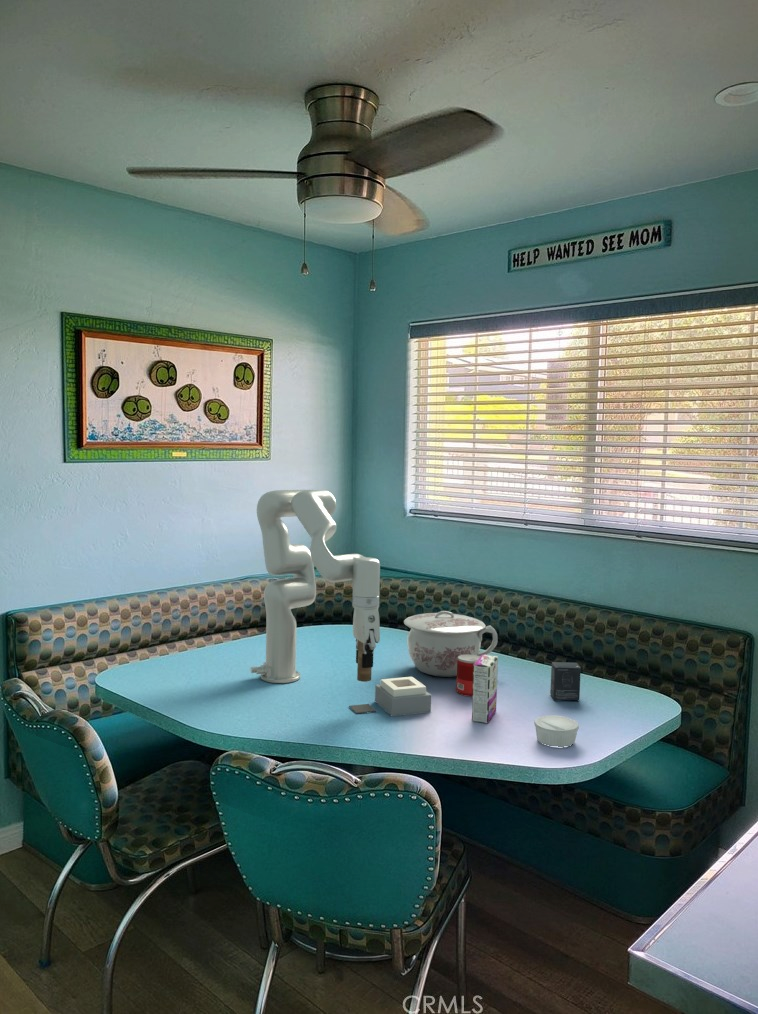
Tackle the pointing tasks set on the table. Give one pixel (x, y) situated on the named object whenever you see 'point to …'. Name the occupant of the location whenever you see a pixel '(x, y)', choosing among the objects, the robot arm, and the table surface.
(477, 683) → the candy bar box
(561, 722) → the ramekin
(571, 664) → the box
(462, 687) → the canned food
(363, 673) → the brown rounded cylinder
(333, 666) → the table surface
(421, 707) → the grey white square holder
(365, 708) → the coaster
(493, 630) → the chamber pot
